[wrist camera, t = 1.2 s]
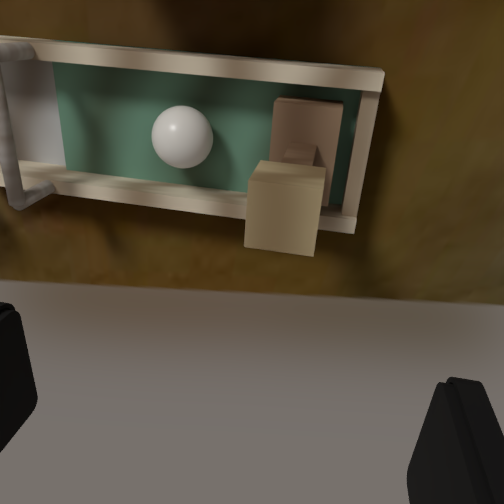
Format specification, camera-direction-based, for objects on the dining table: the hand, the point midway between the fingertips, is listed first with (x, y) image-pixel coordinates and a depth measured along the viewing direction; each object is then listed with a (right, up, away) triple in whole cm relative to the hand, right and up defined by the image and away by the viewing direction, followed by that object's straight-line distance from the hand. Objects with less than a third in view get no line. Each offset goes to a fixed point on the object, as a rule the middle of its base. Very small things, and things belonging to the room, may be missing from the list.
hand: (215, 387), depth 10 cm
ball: (-4, +11, +19) cm, 22 cm away
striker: (+4, +10, +20) cm, 23 cm away
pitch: (-6, +12, +22) cm, 26 cm away
